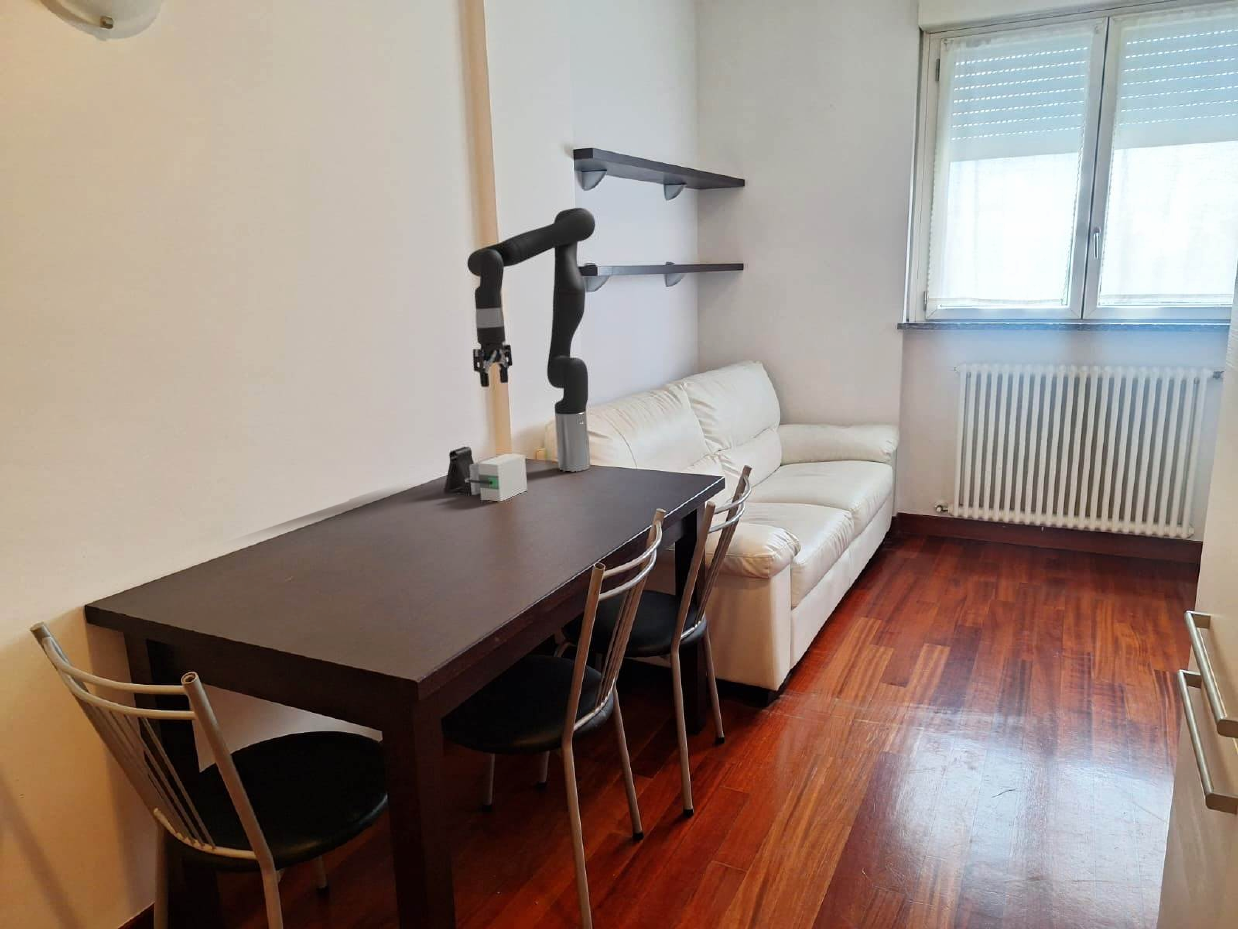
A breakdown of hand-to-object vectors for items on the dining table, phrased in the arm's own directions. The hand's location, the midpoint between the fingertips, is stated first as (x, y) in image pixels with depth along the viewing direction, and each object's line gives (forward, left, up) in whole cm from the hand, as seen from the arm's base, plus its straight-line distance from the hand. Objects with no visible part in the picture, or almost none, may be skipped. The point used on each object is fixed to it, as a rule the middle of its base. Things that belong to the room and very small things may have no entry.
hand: (495, 384), depth 232 cm
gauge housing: (+11, +9, -28) cm, 31 cm away
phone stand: (+11, -5, -28) cm, 31 cm away
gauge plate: (+12, +6, -27) cm, 30 cm away
